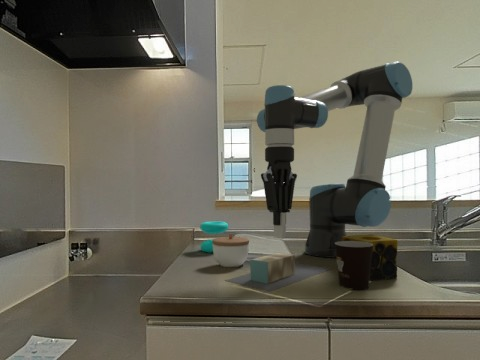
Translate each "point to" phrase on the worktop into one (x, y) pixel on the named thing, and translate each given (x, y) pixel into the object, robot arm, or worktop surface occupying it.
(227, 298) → the worktop surface
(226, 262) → the lidded jar
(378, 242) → the yellow patterned cube
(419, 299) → the worktop surface
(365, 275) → the coffee mug
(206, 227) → the donuts
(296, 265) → the rubber mat
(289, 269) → the birch block
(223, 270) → the worktop surface
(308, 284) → the worktop surface
